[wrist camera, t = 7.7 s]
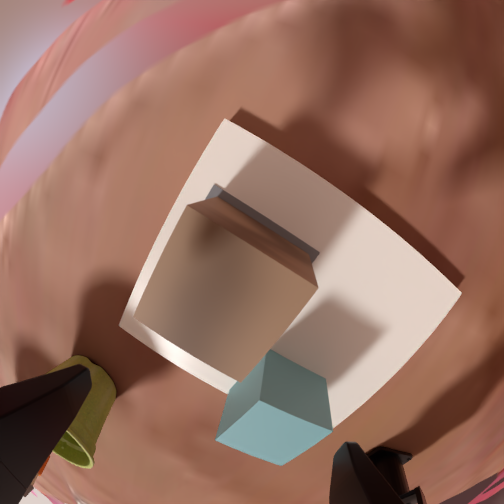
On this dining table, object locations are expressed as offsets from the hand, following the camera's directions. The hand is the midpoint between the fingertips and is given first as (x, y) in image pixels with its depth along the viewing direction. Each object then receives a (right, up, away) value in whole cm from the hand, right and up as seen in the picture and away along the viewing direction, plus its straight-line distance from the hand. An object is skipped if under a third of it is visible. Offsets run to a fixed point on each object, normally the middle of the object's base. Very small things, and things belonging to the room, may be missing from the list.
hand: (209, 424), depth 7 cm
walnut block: (0, +5, +9) cm, 10 cm away
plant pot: (-15, -7, +15) cm, 22 cm away
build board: (+4, +2, +10) cm, 11 cm away
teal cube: (+3, -4, +11) cm, 12 cm away
